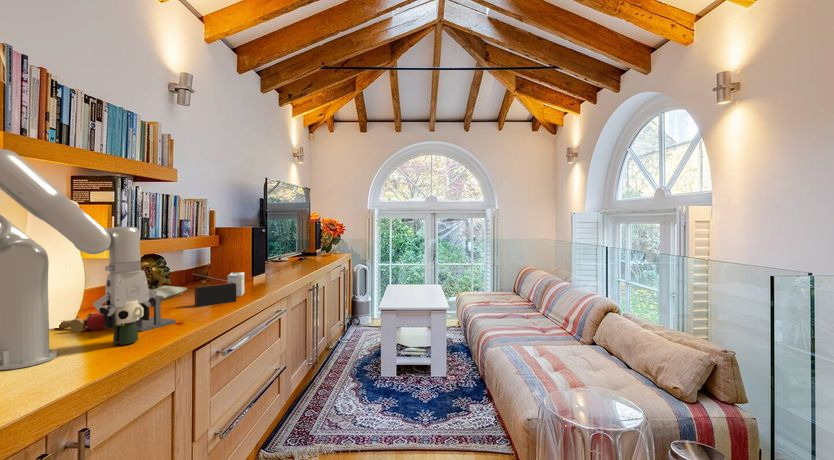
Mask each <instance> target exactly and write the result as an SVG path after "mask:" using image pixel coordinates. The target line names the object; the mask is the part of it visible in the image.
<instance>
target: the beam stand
mask: <svg viewBox="0 0 834 460" xmlns="http://www.w3.org/2000/svg"><path fill="white" fill-rule="evenodd" d="M154 299H155V300H154V307H153V316H152V317H150V316H149V320H141V319H140V318H139V320H137V321H135V324H136V326H137V332H141V333H142V332H143V333H144V332H147V331H150V330H154V329H158V328H162V327H165V326H169V325H174V324H176V323H177V320H176V319H174V318H172V319H171V318H165V317H161V316H162V315H161V302H160V297H155V298H154Z"/></svg>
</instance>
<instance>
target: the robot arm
mask: <svg viewBox="0 0 834 460" xmlns="http://www.w3.org/2000/svg"><path fill="white" fill-rule="evenodd" d="M0 190H1V191H3V193H5V194H6V195H7V196H9V197H10V198H11V199H12V200H14V201H15V203H18V205H20V207H22V208H24V209H25V210H26V211H27V212H29V213H30V215H33V216H34V217H35V218H37V219H39V220H41V221H43V222H44V223H46V224H48V225H49V226H50V227H51V228H53V229H54V230H56V231H57V232H58V233H60V234H61V235H62V236H63V237H64V238H66V239H67V240H68V241H69V242H71V243H72V245H74V247H75V248H76V249H77V250H78V251H80V252H83V253H84V254H88V255H100V254H101V253H104V252H106V251H108V258H109V259H108V260H109V262H108V265H106V266H105V267H104V270H105V271H106V272H108V271H109V273H107V277H106V282H105V288H104V289H105V291H104V292H105V294H104V295H103V296H101V297H100V298H98V299H97V300H95V301H94V302H93V304H92V306H93V307H94V308H95V309H96V311H97V313H101V314H102V315H105V326H106V327H105V328H106V329H108V330H115V326H116V324H115V316H114V315H113V313H114V312H115V310H116V309H117V308H122V307H124V306H125V303H126V302H131V301H136V300H138V304H140V305H141V306H142V307H143V317H140V319H141V320H149V318H150V315H151V314H150V308H151V307H152V306H151V304H152V303H153V301H154V300H155V299H154V298H155V296H156V294H157V291H154V290H153V289H151V288H149V284H148V278H147V275H146V272H145V270H144V269H143V270H142V265H141V264H142V262H141V260H142V259H141V258H142V257H141V243H140V241H141V239H140V230H139V228H137V227H135V226H116V227H115V226H114V227H103V226H102V225H100V224H99V223H98V221H96V220H95V219H94V218H92V216H90V215H89V214H88V213H87V212H85V211H84V210H83V209H82V208H80V206H78V205H77V204H75V203H74V201H72V200H71V199H70V198H69V197H68V196H67V195H66V194H65V193H63V192H62V191H61V190H60V189H59V188H58V187H57V186H55V185H54V184H53V183H52V182H50V181H49V180H48V179H47V178H46V177H45V176H43V174H42V173H40V172H39V171H38V170H37V169H36V168H34V166H32V165H31V164H30V163H29V162H27V161H26V160H25V159H24V158H23V157H21V156H20V155H19V154H18V153H16V152H15V151H13V150H10V149H4V148H0ZM49 263H50V262H49V256H48V253H47V250H46V249H45V248H44V247H43V246H42V245H41V244H39V243H37V242H36V241H35V240H34V239H32V238H31V237H30V236H29V235H27V234H26V233H25V232H24V231H22V230H21V229H19V228H18V227H17V226H16V225H15V224H13V223H12V222H11V221H10V220H8V218H6V217H5V216H3V215H2V214H0V371H5V370H7V371H8V370H14V369H15V370H17V369H22V368H27V367H33V366H36V365H39V364H43V363H47V362H49V361H52V360H54V359H55V358H56V357H58V351H57V350H55V349H50V321H49V320H50V319H49V316H50V313H49V312H50V311H49V306H50V305H49ZM104 303H105V306H107V307H106V308H104V307H103V306H104V305H103V304H104ZM111 304H112V305H111Z"/></svg>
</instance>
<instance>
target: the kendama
mask: <svg viewBox="0 0 834 460" xmlns="http://www.w3.org/2000/svg"><path fill="white" fill-rule="evenodd" d="M62 321H63V322H61V324H60V325H59V328H60V329H59V330H62V329H68V328H70V329H71V330H72V332H74V333H82V332H85V330H86V328H87V329H88V330H90V331H96V332H97V331H102V330H104V329H105V328H106V326H105V315H102V314H101V313H100V312H91V313H88V314H87V316H86V317H84V318H80V317H77V318H74V319H72V320H71V319H69V320H62Z"/></svg>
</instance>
